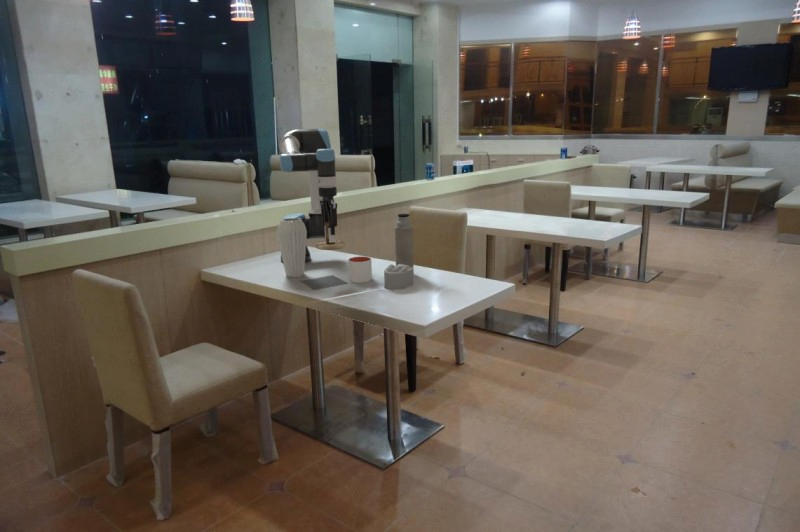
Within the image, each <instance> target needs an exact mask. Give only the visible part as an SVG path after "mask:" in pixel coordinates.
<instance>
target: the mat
mask: <svg viewBox="0 0 800 532" xmlns="http://www.w3.org/2000/svg"><path fill="white" fill-rule="evenodd" d="M299 282H300V283H302V284H304V286H307V287H308V288H310V289H311V290H313V291H315V290H316V291H317V290H322V289H326V288H333V287H337V286H344V285H348V284H349V283H348V282H347V281H345V280H342V279H341V278H338V277H337V276H336V275H334V274H333V275H331V274H330V275H325V276H322V277H321V276H320V277H315V278H310V279H304V280H299Z"/></svg>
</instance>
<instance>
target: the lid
mask: <svg viewBox="0 0 800 532" xmlns="http://www.w3.org/2000/svg"><path fill="white" fill-rule="evenodd" d="M328 226H329V222H326V223H325V231H326V241H325V240H323V241H319V242H316V249H317V250H322V251H335V250H341V249H343V248H345V246H346V245H345V242H344V241H343V240H337V239H336V242H332V243H329V230H328Z"/></svg>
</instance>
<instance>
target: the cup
mask: <svg viewBox="0 0 800 532" xmlns="http://www.w3.org/2000/svg"><path fill="white" fill-rule="evenodd" d="M347 261H348V262H347V263H348V278H349V282H351V283H354V284H365V283H368V282H371V281H372V279H373V269H372V267H373V266H372V258H371V257H369V256H353V257H350V258H348V260H347Z"/></svg>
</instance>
